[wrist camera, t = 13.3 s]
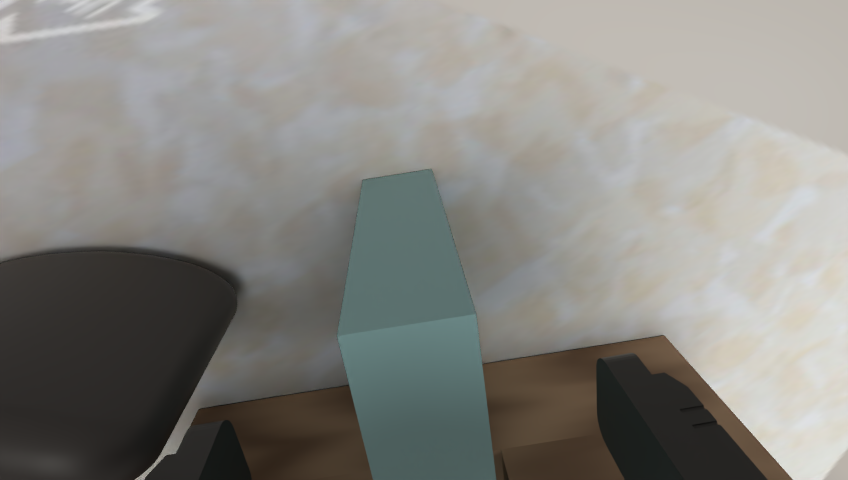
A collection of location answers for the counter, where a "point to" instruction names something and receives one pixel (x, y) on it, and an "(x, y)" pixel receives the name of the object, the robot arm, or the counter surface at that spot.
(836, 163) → the counter surface
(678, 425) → the robot arm
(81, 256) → the black rounded block
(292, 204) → the counter surface
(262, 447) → the brown flat u-shaped block
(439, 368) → the teal plate
